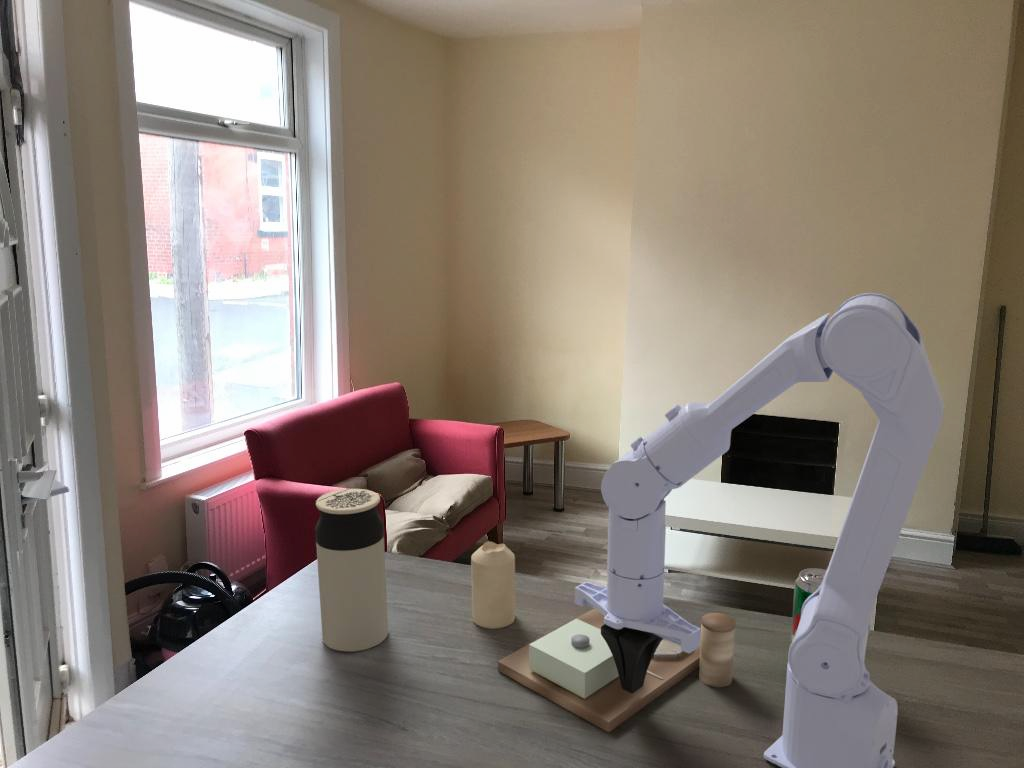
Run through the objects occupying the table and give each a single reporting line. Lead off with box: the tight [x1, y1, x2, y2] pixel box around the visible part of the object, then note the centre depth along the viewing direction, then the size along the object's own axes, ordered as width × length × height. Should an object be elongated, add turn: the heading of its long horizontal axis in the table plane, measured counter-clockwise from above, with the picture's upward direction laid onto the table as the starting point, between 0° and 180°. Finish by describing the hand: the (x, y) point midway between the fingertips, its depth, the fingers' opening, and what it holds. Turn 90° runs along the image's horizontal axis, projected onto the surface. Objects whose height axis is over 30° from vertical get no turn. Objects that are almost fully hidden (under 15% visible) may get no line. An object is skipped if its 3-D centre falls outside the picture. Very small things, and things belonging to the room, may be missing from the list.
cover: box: [528, 618, 619, 699], centre depth 91 cm, size 8×8×4 cm
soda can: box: [789, 567, 827, 647], centre depth 91 cm, size 5×5×12 cm
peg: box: [698, 612, 736, 688], centre depth 91 cm, size 4×4×7 cm
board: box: [497, 608, 701, 733], centre depth 95 cm, size 16×20×1 cm
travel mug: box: [315, 488, 389, 653], centre depth 99 cm, size 8×8×18 cm
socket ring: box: [652, 638, 686, 659], centre depth 97 cm, size 7×7×1 cm
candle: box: [470, 541, 516, 630], centre depth 104 cm, size 6×6×10 cm
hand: (632, 687), depth 86 cm, fingers closed
